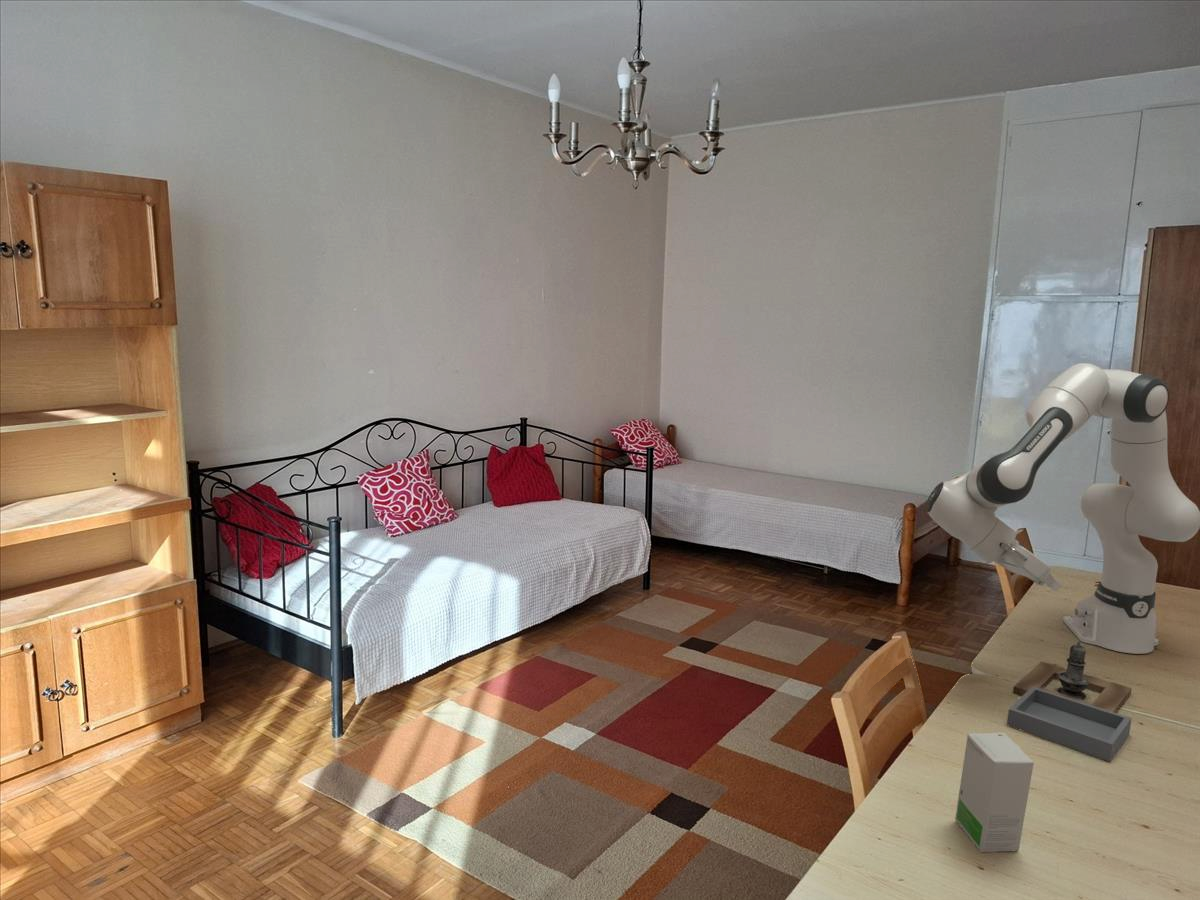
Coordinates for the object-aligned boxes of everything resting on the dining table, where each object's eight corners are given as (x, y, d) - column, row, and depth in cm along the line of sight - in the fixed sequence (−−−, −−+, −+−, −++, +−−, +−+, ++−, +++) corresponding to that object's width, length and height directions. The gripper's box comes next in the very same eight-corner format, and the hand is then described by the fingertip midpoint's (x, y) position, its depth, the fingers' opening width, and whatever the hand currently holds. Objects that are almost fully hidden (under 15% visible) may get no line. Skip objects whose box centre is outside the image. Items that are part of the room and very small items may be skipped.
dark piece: (1091, 701, 174) (1099, 648, 172) (1061, 698, 175) (1068, 645, 173) (1081, 689, 180) (1089, 637, 178) (1052, 685, 181) (1059, 634, 179)
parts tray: (1006, 725, 164) (1008, 708, 163) (1030, 701, 174) (1032, 686, 173) (1109, 762, 152) (1112, 744, 151) (1129, 734, 161) (1131, 717, 161)
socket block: (1012, 692, 178) (1013, 686, 177) (1040, 667, 190) (1041, 661, 190) (1108, 724, 165) (1109, 717, 165) (1130, 694, 178) (1131, 688, 178)
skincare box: (954, 820, 134) (964, 731, 131) (993, 819, 134) (1004, 730, 131) (981, 854, 125) (993, 761, 123) (1023, 853, 126) (1035, 759, 123)
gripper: (1019, 533, 165) (1078, 579, 163) (992, 529, 185) (1045, 569, 183) (998, 557, 166) (1057, 603, 163) (973, 550, 186) (1026, 591, 183)
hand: (1050, 585), depth 173 cm, fingers open, 8 cm apart
